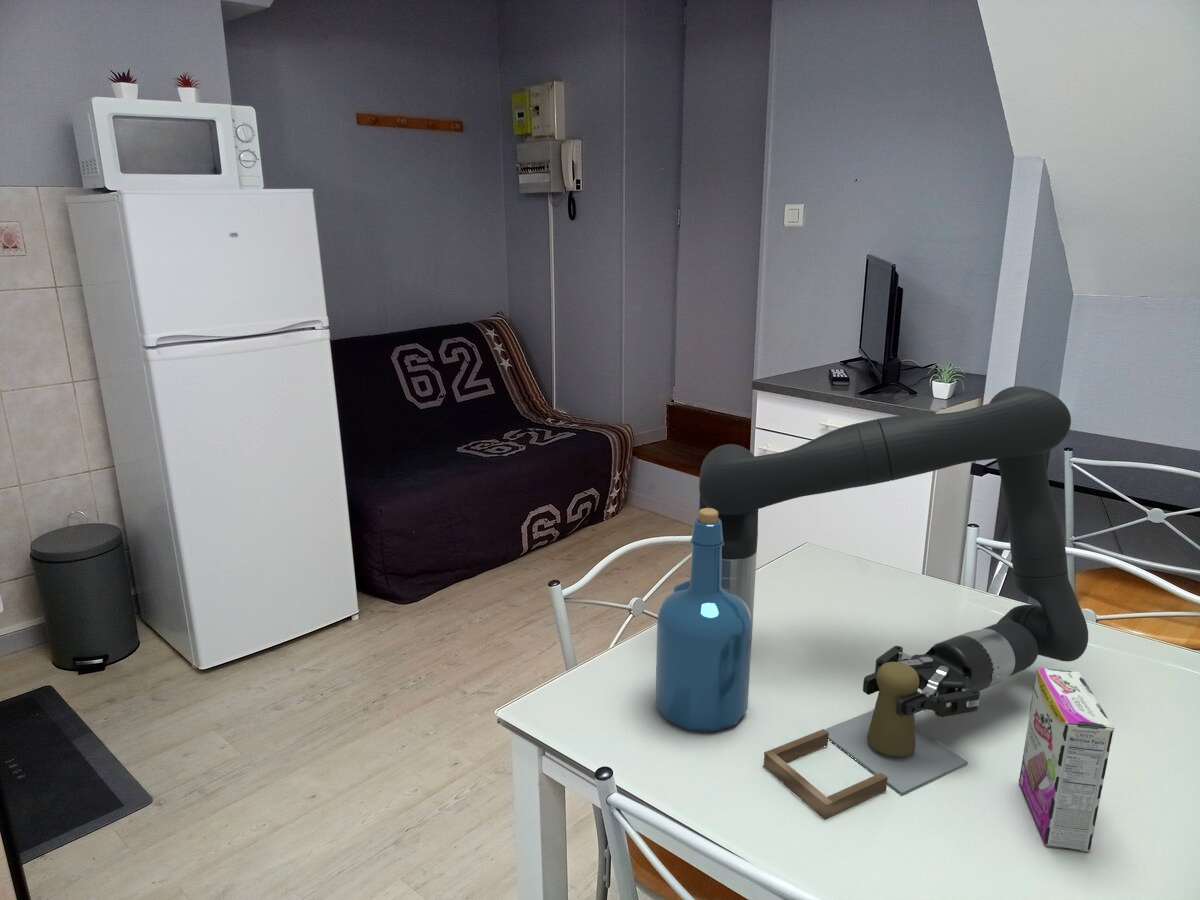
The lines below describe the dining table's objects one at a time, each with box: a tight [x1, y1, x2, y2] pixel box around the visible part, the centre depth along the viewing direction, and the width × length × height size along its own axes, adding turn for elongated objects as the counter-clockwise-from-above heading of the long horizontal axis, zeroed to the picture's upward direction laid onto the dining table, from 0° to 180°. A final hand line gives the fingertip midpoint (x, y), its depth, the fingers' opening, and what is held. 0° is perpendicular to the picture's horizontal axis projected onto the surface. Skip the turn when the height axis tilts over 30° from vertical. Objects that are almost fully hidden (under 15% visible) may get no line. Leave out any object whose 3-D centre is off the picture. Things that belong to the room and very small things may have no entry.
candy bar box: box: [1018, 667, 1115, 853], centre depth 94 cm, size 11×5×16 cm, turn 168°
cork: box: [867, 662, 920, 756], centre depth 107 cm, size 6×6×11 cm
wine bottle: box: [655, 508, 753, 733], centre depth 113 cm, size 14×13×30 cm
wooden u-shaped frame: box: [763, 728, 888, 820], centre depth 103 cm, size 11×10×2 cm
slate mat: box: [823, 709, 969, 796], centre depth 109 cm, size 14×12×1 cm
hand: (882, 697), depth 105 cm, fingers closed on cork, 5 cm apart
